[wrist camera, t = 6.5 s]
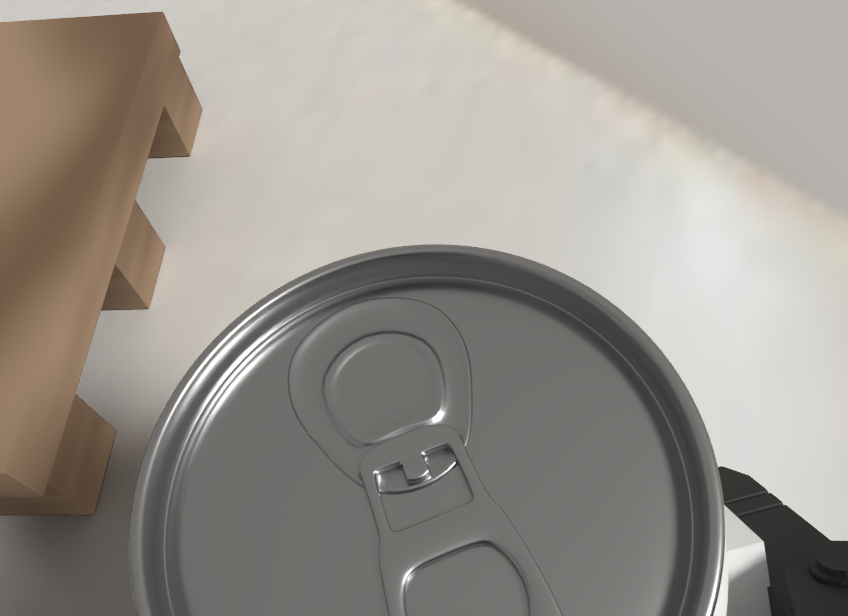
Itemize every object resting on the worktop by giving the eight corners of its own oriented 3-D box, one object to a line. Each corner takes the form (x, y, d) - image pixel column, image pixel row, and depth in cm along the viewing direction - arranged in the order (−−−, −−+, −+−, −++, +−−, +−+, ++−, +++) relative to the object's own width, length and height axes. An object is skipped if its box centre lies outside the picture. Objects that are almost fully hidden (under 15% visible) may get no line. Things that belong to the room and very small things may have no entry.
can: (538, 479, 19) (572, 145, 9) (670, 752, 16) (956, 698, 6) (300, 576, 19) (51, 328, 8) (383, 884, 15) (133, 1086, 5)
